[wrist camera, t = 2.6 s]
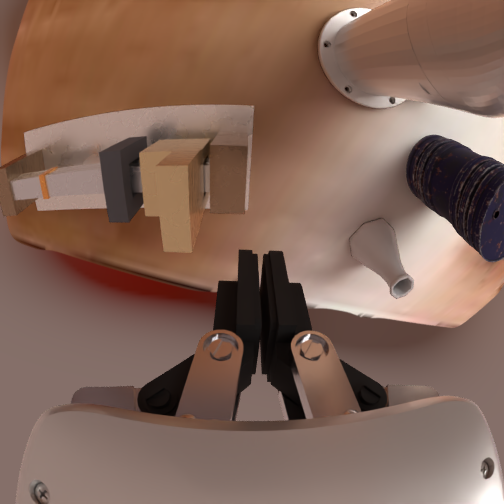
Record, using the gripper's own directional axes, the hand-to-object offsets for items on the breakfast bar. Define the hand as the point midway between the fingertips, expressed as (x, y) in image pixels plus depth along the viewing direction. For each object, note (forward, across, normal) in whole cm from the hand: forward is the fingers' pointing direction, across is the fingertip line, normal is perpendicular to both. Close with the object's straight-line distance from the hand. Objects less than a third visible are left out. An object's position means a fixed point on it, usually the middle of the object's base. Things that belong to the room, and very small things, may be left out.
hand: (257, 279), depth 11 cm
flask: (+21, -18, +10) cm, 29 cm away
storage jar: (+21, -24, -2) cm, 33 cm away
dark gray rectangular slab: (+17, +12, 0) cm, 21 cm away
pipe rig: (+21, +16, 0) cm, 26 cm away
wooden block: (+17, +7, 0) cm, 18 cm away
